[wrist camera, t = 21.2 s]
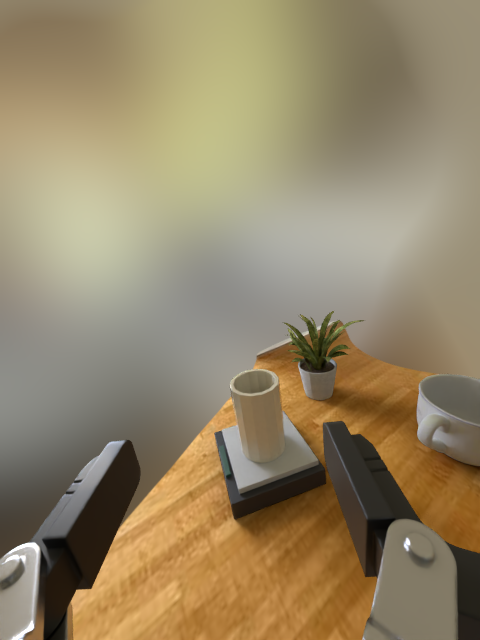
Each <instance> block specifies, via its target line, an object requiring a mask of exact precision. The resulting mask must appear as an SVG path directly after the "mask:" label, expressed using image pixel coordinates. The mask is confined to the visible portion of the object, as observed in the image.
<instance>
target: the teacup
mask: <svg viewBox="0 0 480 640" xmlns="http://www.w3.org/2000/svg"><path fill="white" fill-rule="evenodd" d="M417 422H418V426H419V427H418V431H417V436H418V439H419V440H420V441H421V442H422V443H423V444H424V445H425V446H427V447H429V448H431V449H434V450H436V451H438V452H440V453H445V454H446V455H448V456H450V457H451V458H453V459H456V460H458V461H460V462H463V463H466V464H470V465H474V466H480V379H477V378H473V377H468V376H462V375H452V374H439V375H432V376H429V377H426V378H424V379H423V380H422V381H421V382H420V384H419V396H418V403H417Z"/></svg>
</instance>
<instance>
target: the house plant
mask: <svg viewBox="0 0 480 640" xmlns="http://www.w3.org/2000/svg"><path fill="white" fill-rule="evenodd" d="M333 313H334V311H332V312H331V313H329V314H328V315H327V316H326V318H325V319H324V321H323V323H322V326H321V330H320V337H319V338H318V333H317V328H316V325H315V322H314V320H313V319H312V318H311V319H312V321H313V325H312V323H311V321H310V320H308V319H307V318H306V317H304V316H303V315H301V317H302V318H303V319H304V321H305V322H306V323H307V326H308V330H309V334H310V337H311V340H312V345H313V350H312V348H311V346H310V345H309V344H308V343H307V341H306V339H305V338H304V336H303V335H302V334H301V333H300V332H299V331H298V330H297V329H296V328H294V327H293V326H291V325H290V324H288V323H285V324H286V325H288V326H289V327H290V328H291V329H292V330H293V331H294V332H295V333H296V334H297V336H298V338H299V339H298V338H297V337H296V336H295V335H294V333H293V332H292V331H291V330H290V329H288V331H289V333H290V337H291V339H292V341H293V342H291V343H290V344H292V345H296V346H297V347H298V348H299V350H300V351H296V350H288V351H290V352H294V353H296V354H298V355H301V356H304V359H300V358H295V359H294V360H293V361H292V362H297V361H300V362H299V364H298V367H299V371H300V374H301V378H302V382H303V386H304V389H305V393H306V395H307V396H308V397H309V398H311V399H314V400H325V399H328V398H330V397H331V396H332V394H333V388H334V381H335V375H336V369H337V364H336V362H335V361H334V360H333V359H331V358H332V357H336V356H341V355H348V354H346V353H345V352H341V351H338V350H341V349H350V348H348V347H347V346H346V345H338V346H336V347H335V348H333V349H332V350H331V351H330V353H329V354H328V356H327V357H326V354H327V350H328V348H329V347H330V345H331V344H332V343H333V342H334V341H335V340H336V339H337V338H338V337H339V335H341V334H342V333H341V334H339V333H340V332H341V331H342V330H343V329H344V328H346V327H347V326H349V325H351V324H352V323H355V322H361V321H363V320H359V321H352V322H349V323H347V324H345V325H343V326H342V327H340V328H338V329H339V330H338V329H337V330H338V331H337V330H336V331H337V332H336V331H335V332H333V331H334V329H335V327H336V326H337V323H338V322H339V321H340V320H338V321H336V322H333V323H334V324H333V323H331V324H333V326H332V328H331V330H330V332H329V335H328V336H327V337H326V338H324V337H325V334H326V333H325V331H326V332H327V330H326V328H327V325H328V323H329V320H330V318H331V315H332V314H333ZM331 324H330V325H331ZM330 325H329V326H330ZM313 326H314V327H313ZM327 329H328V328H327ZM343 333H344V332H343ZM334 334H335V335H334ZM338 334H339V335H338ZM333 335H334V336H333ZM337 335H338V336H337ZM332 336H333V338H332V339H331V337H332ZM330 339H331V341H330ZM324 340H325V341H324ZM322 348H323V349H322ZM335 351H338V352H335ZM334 352H335V353H334ZM321 354H322V355H321ZM292 362H291V363H292Z"/></svg>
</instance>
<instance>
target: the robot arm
mask: <svg viewBox="0 0 480 640" xmlns="http://www.w3.org/2000/svg"><path fill="white" fill-rule="evenodd" d="M323 440H324V456H325V462H326V466H327V470H328V473H329V475H330V478H331V481H332V484H333V487H334V489H335V492H336V495H337V498H338V501H339V504H340V506H341V509H342V512H343V515H344V518H345V520H346V523H347V526H348V529H349V532H350V535H351V537H352V540H353V543H354V546H355V549H356V551H357V554H358V557H359V560H360V563H361V566H362V568H363V571H364V574H365V577H375V576H376V577H377V579H378V580H377V585H376V590H375V595H374V600H373V605H372V610H371V614H370V617H369V618H368V620H367V623H366V626H365V630H364V634H363V639H362V640H480V553H476V552H472V551H469V550H465V549H462V548H459V547H456V546H454V545H451V544H449V543H447V542H446V541H444V540H443V539H442V538H441V537H440V536H439V535H438V534H437V533H436V532H434V531H433V530H432V529H430V528H429V527H427V526H426V525H424V524H423V523H422V522H421V521H420V519H419V518H418V516H417V515H416V513H415V512H414V510H413V508H412V507H411V505H410V504H409V502H408V500H407V499H406V497H405V496H404V494H403V492H402V491H401V489H400V488H399V486H398V484H397V483H396V481H395V480H394V478H393V476H392V475H391V473H390V472H389V471H388V469H387V467H386V465H385V464H384V462H383V460H381V457H380V456H379V454H378V452H377V451H376V449H375V448H374V446H373V444H371V443H370V442H369V441H368V440H367V439H365V438H364V437H363V436H362V435H361V434H357V435H351V434H350V432H349V431H348V429H347V427H346V425H345V423H344V422H343V421H338V422H327V423H323ZM139 480H140V466H139V463H138V460H137V457H136V454H135V451H134V448H133V445H132V442H131V441H130V440H124V441H113V442H110V443H108V444H107V446H106V447H105V449H104V450H103V452H102V453H101V455H100V456H97V457H95V458H94V459H93V460H92V461H91V462H90V463H89V464H87V465H86V466H85V467H84V468H83V469H82V471H81V472H80V473H79V475H78V476H77V478H76V479H75V480H74V483H73V484H71V486H70V487H69V489H68V490H67V491H66V495H63V497H62V498H61V500H60V501H59V502H58V504H57V505H56V506H55V508H54V509H53V510H52V512H51V513H50V515H49V516H48V517H47V519H46V520H45V522H44V523H43V524H42V526H41V527H40V528H39V530H38V531H37V532H36V534H35V535H34V537H33V538H32V539H31V541H30V542H29V543H27V544H23V545H21V546H19V547H17V548H15V549H13V550H12V551H10V552H8V553H7V554H6V555H5V556H3V557H2V558H1V559H0V640H73V612H72V605H71V600H72V598H73V596H74V594H75V592H76V590H79V589H91V588H92V586H93V584H94V582H95V579H96V577H97V575H98V573H99V571H100V568H101V566H102V564H103V562H104V559H105V557H106V555H107V553H108V551H109V548H110V546H111V544H112V542H113V540H114V537H115V535H116V533H117V531H118V528H119V526H120V524H121V522H122V519H123V517H124V515H125V513H126V511H127V508H128V506H129V504H130V502H131V500H132V497H133V495H134V493H135V491H136V489H137V486H138V484H139Z"/></svg>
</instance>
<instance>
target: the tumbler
mask: <svg viewBox="0 0 480 640" xmlns="http://www.w3.org/2000/svg"><path fill="white" fill-rule="evenodd" d="M230 390H231V396H232V402H233V407H234V413H235V418H236V424H237V430H238V435H239V441H240V445H241V449H242V452H243V454H244V455H245V456H246V457H247V458H248V459H250V460H252V461H254V462H258V463H266V462H270V461H273V460H275V459H277V458H278V457H280V456H281V455H282V453H283V452H284V450H285V446H286V442H285V430H284V421H283V412H282V403H281V394H280V385H279V378H278V376H277V375H276V374H275V373H274V372H271V371H269V370H263V369H254V370H247V371H244V372H242V373H240V374H238V375H236V376H235V377H234V378H233V379H232V380H231V383H230Z"/></svg>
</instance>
